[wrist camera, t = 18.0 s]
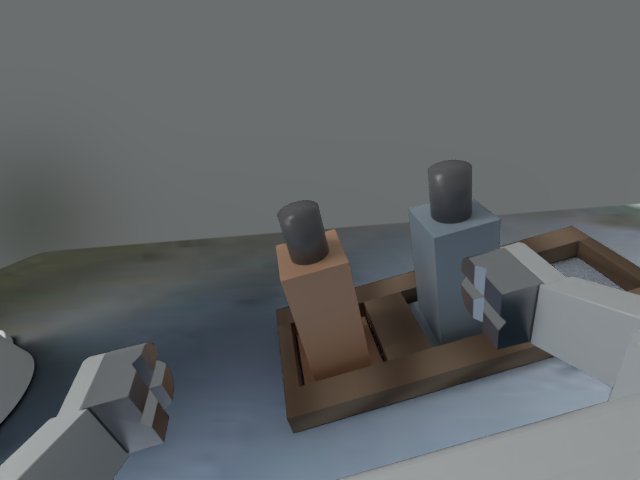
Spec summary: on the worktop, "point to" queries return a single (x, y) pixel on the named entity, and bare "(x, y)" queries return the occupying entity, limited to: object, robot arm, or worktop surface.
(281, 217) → the terracotta plug
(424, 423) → the worktop surface
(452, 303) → the slate plug
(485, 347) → the plug dock
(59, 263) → the worktop surface
